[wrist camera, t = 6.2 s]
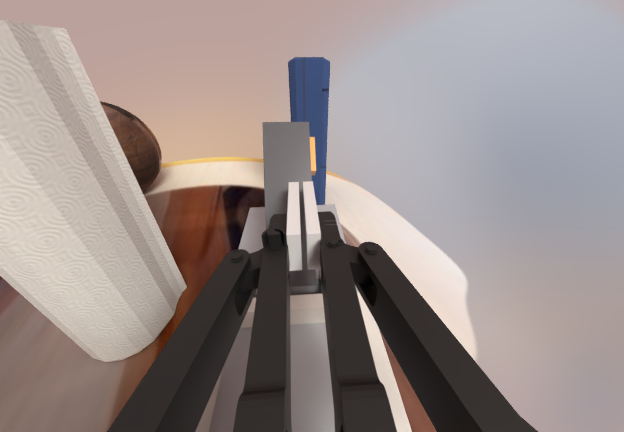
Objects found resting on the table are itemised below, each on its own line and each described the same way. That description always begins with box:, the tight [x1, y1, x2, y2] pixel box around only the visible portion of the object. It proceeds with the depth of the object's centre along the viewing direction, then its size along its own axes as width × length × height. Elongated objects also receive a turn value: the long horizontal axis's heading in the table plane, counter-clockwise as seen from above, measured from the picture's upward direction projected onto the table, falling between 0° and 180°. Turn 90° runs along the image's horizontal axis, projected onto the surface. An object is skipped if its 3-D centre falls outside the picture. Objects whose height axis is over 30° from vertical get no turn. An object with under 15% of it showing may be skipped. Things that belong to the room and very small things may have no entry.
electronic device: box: [288, 57, 330, 205], centre depth 35 cm, size 10×5×20 cm, turn 178°
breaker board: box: [195, 205, 412, 432], centre depth 21 cm, size 28×12×4 cm, turn 4°
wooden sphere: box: [100, 102, 161, 191], centre depth 37 cm, size 15×15×15 cm
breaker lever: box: [263, 122, 320, 295], centre depth 20 cm, size 2×5×15 cm
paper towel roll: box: [0, 20, 187, 362], centre depth 15 cm, size 7×6×21 cm
